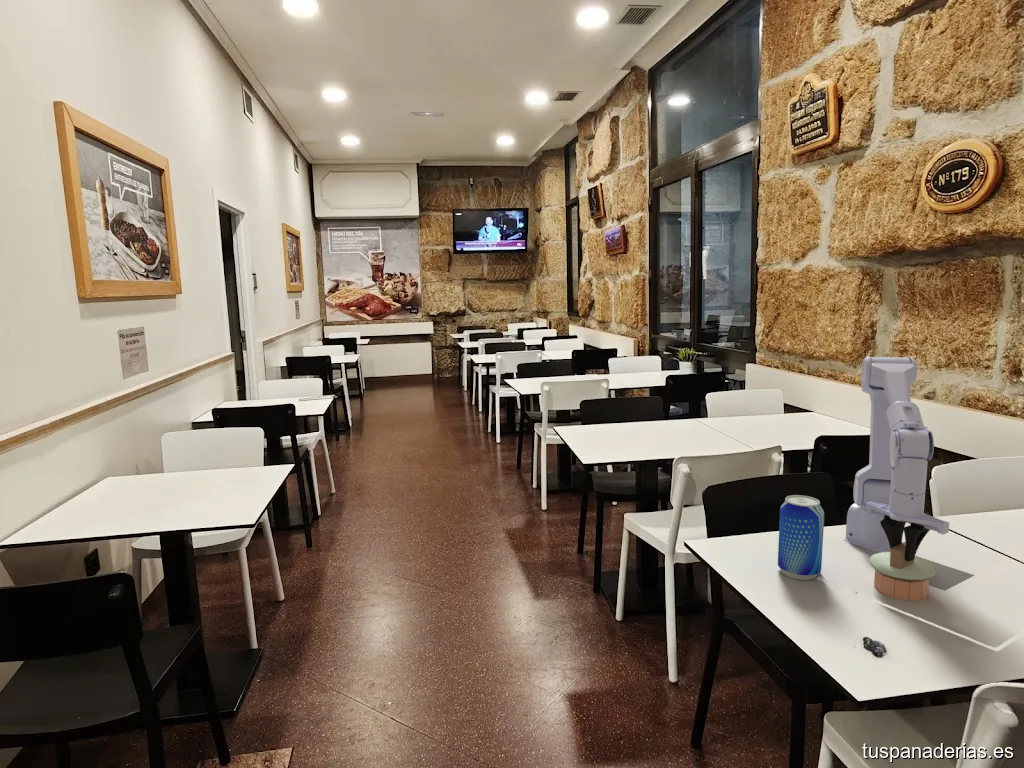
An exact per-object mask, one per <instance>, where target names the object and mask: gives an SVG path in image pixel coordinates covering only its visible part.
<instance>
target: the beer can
mask: <svg viewBox="0 0 1024 768" xmlns="http://www.w3.org/2000/svg"><path fill="white" fill-rule="evenodd" d="M778 523H779V526H778V546H777V547H778V549H777V551H778V552H777V567H778V568H779V570H780V571H781V573H782V574H783V575H785V576H786V577H788V578H791V579H795V580H798V581H799V580H801V581H811V580H814V579H816V578H818V575H819V574H820V573H821V572H822V563H823V546H824V545H823V544H824V530H825V529H824V527H825V512H824V509H823V507H822V506H821V502H820V500H819V499H817V498H815V497H812V496H809V495H802V494H801V495H800V494H793V495H787V496H786V497H785V499H784V502H783V503H782V504H781V506H780V509H779V522H778Z"/></svg>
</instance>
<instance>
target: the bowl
mask: <svg viewBox="0 0 1024 768" xmlns="http://www.w3.org/2000/svg"><path fill="white" fill-rule="evenodd" d="M929 586H930V585H929V579H925V580H907V579H900V578H895V577H892V576H888V575H886V574H883V573H881V572H879V571H877V570H875V569H874V579H873V588H875V589H876V590H877V591H879V593H881V594H884V595H886V596H888V597H891V598H894V599H898V600H905V601H922V600H924V599H926V598H928V597H929Z"/></svg>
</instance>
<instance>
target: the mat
mask: <svg viewBox="0 0 1024 768" xmlns="http://www.w3.org/2000/svg"><path fill="white" fill-rule="evenodd" d="M916 556H917V555H916ZM917 557H920V558H922V559H924V560H926V561H928V562H930V563H931V564H932V565H933V566H934V567H935V575H934V576H933V577H931V578H929V586H931V587H934V588H936V589H939V590H942V591H947V590H948V589H951V588H952V587H954V586H956V585H958V584H960V583H962V582H964V581H966V580H967V579H970V578H972V577H974V576H975V574H972V573H968V572H967V571H964V570H960V569H957V568H954V567H950V566H948V565H945V564H942V563H939V562H935V561H933V560H930V559H926V558H924V557H921V556H917Z"/></svg>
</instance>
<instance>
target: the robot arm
mask: <svg viewBox="0 0 1024 768" xmlns="http://www.w3.org/2000/svg"><path fill="white" fill-rule="evenodd" d="M917 373H918V366H917V360H916V359H915V358H914V357H912V356H908V357H905V356H904V357H899V356H898V357H897V356H896V357H893V356H870V355H868V356H867V355H866V357H864V358H863V360H862V363H861V375H860V377H861V380H860V383H861V384H860V387H861V391H862V392H864V393H866V394H868V395H869V398H870V403H871V404H870V405H871V406H870V428H869V429H870V434H869V459H868V460H869V463H868V465H866V466H865V467H862V468H861V469H859V470H858V471H857V472H856V474H855V476H854V483H853V488H852V489H853V501H854V503H853V504H851V505H850V507H849V508H848V511H847V515H846V527H845V538H843V541H845V542H847V543H851V544H853V545H857V546H859V547H861V548H862V547H863V548H866V549H868V550H872V551H873V552H877V553H881V552H890V551H891V548H892V547H895V546H897V545H899V544H901V543H903V535H904V540H905V541H904V542H906V547H905V560H906V561H911V560H914V558H915V556H916V554H917V551H918V549H919V547H920V545H921V543H922V541H923V540H924V538H925V536H926V535H927V534H928V533H929V532H930V531H934V532H937V533H938V534H940V535H946V534H948V533H950V531H949V530H950V521H949V522H948V521H945V520H942V519H939V518H937V517H935V516H932V515H930V514H927V513H926V512H924V510H925V498H926V487H927V478H928V477H927V475H928V462H929V461H931V460H932V458H933V455H934V449H935V441H934V435H933V432H932V430H931V429H930V428H929V427H928V426H925V425H924V422H923V418H922V417H923V416H922V415H921V411H920V408H919V406H918V405H917V404H916V403H914V402H912V400H911V394H910V393H911V392H910V388H911V387H912V386H913V385H914V383H915V381H916V379H917V375H918V374H917ZM906 524H909V525H907V526H906Z"/></svg>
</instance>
